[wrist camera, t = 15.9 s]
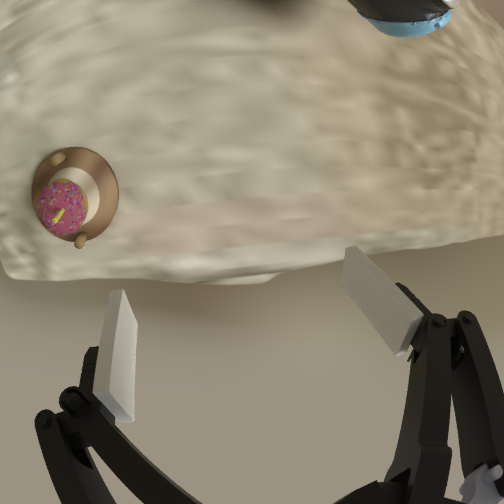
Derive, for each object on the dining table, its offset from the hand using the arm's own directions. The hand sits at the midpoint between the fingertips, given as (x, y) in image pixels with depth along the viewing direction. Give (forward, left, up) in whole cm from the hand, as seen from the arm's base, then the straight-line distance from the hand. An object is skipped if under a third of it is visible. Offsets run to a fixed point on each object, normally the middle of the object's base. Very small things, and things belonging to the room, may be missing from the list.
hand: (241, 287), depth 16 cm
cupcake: (-10, -19, -30) cm, 37 cm away
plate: (-10, -19, -32) cm, 38 cm away
